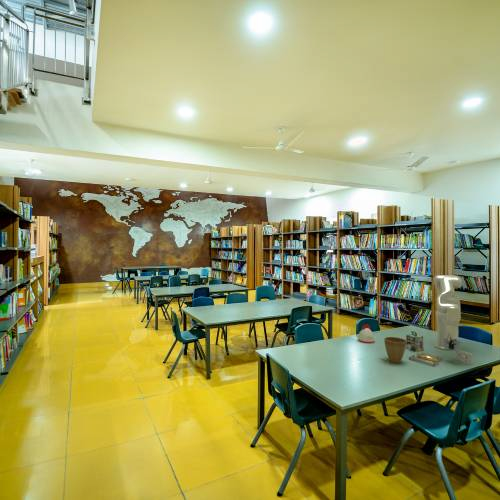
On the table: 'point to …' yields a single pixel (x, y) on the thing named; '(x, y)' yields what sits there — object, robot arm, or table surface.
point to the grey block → (456, 344)
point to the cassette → (465, 359)
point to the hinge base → (426, 359)
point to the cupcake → (366, 335)
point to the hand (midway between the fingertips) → (452, 348)
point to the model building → (414, 342)
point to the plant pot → (395, 348)
